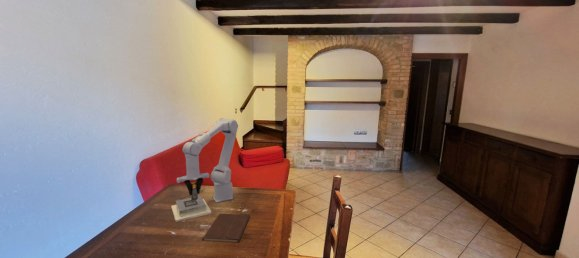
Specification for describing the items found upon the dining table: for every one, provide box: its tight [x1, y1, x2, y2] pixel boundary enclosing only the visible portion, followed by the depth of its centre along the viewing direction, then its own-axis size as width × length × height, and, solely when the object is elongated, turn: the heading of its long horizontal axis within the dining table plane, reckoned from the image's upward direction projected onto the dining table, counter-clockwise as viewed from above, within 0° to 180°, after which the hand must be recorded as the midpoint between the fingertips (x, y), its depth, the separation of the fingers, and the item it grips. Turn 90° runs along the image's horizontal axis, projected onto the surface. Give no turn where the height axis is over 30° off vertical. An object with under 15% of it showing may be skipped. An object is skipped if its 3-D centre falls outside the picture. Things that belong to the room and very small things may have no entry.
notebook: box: [201, 213, 251, 243], centre depth 111 cm, size 15×20×2 cm
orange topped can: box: [190, 181, 199, 200], centre depth 123 cm, size 3×3×8 cm
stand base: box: [171, 198, 212, 223], centre depth 126 cm, size 16×16×1 cm
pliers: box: [176, 187, 206, 201], centre depth 143 cm, size 10×1×20 cm
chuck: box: [175, 195, 206, 217], centre depth 125 cm, size 12×12×3 cm
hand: (194, 193), depth 123 cm, fingers closed on orange topped can, 3 cm apart
